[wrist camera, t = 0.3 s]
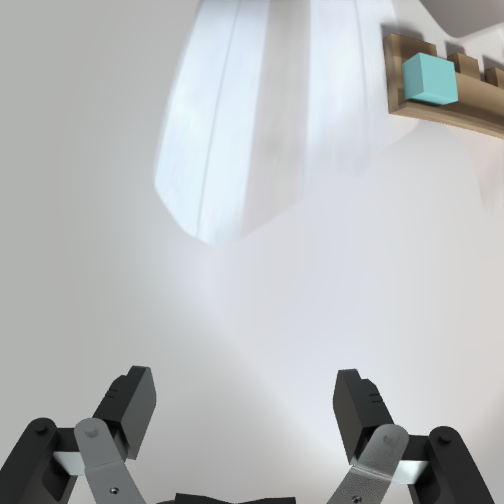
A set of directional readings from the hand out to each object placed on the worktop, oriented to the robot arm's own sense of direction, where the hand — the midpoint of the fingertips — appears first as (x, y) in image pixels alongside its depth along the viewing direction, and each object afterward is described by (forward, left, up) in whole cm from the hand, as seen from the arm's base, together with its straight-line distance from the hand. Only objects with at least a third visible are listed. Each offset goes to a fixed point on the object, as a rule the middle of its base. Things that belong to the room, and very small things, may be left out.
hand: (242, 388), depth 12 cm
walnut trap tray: (-23, +31, -28) cm, 47 cm away
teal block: (-21, +22, -25) cm, 39 cm away
